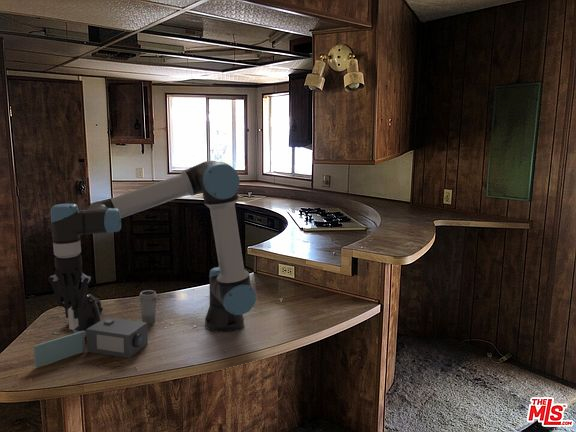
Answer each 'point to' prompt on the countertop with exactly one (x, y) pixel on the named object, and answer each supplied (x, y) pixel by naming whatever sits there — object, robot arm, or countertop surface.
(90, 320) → the black egg shape
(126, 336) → the box
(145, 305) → the cup
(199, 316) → the countertop surface
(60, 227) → the robot arm
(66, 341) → the side door
